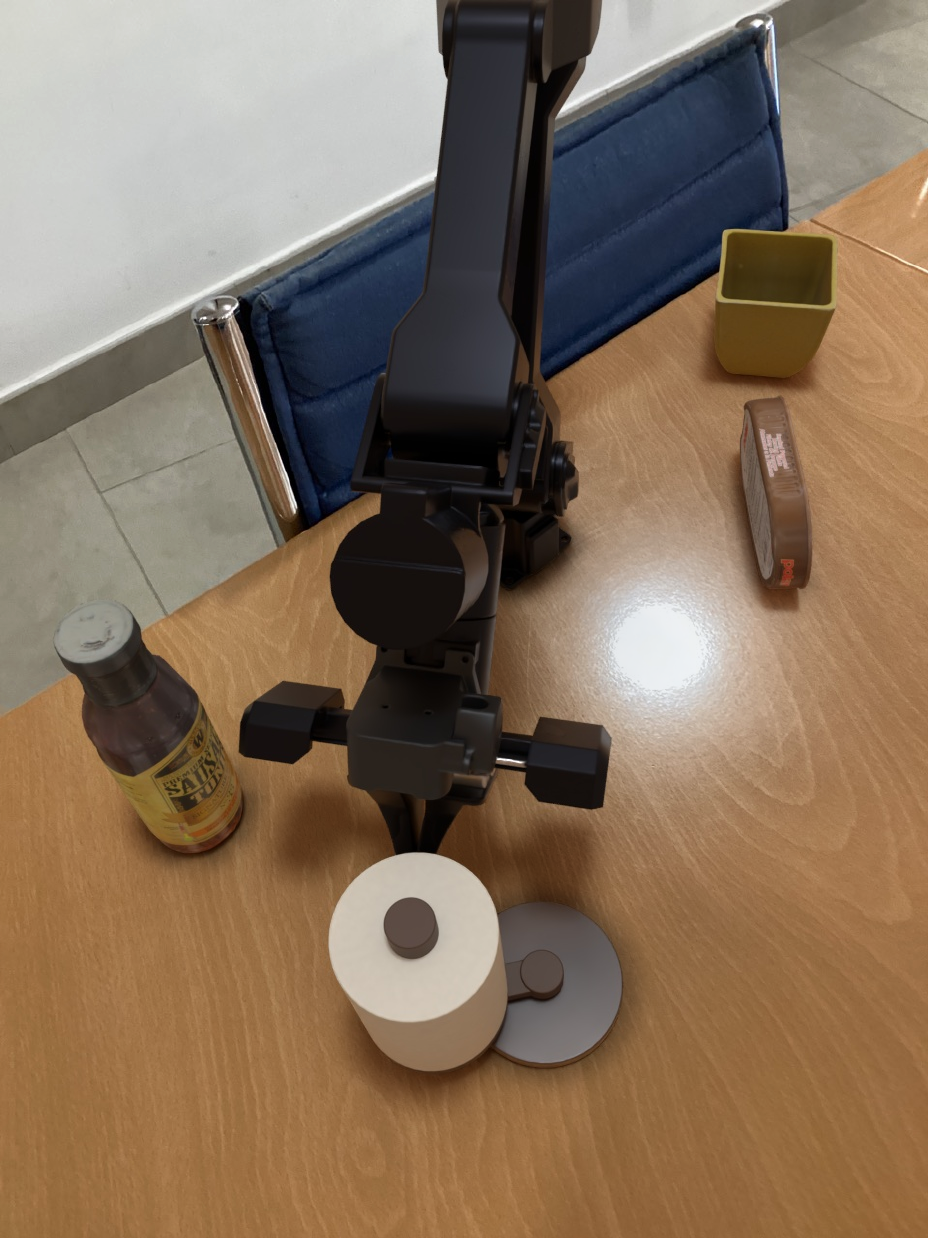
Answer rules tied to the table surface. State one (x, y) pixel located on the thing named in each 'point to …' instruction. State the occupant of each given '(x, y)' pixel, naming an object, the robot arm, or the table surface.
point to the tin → (775, 495)
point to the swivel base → (582, 1002)
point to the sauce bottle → (149, 729)
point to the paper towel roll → (429, 962)
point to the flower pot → (773, 300)
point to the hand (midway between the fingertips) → (414, 893)
